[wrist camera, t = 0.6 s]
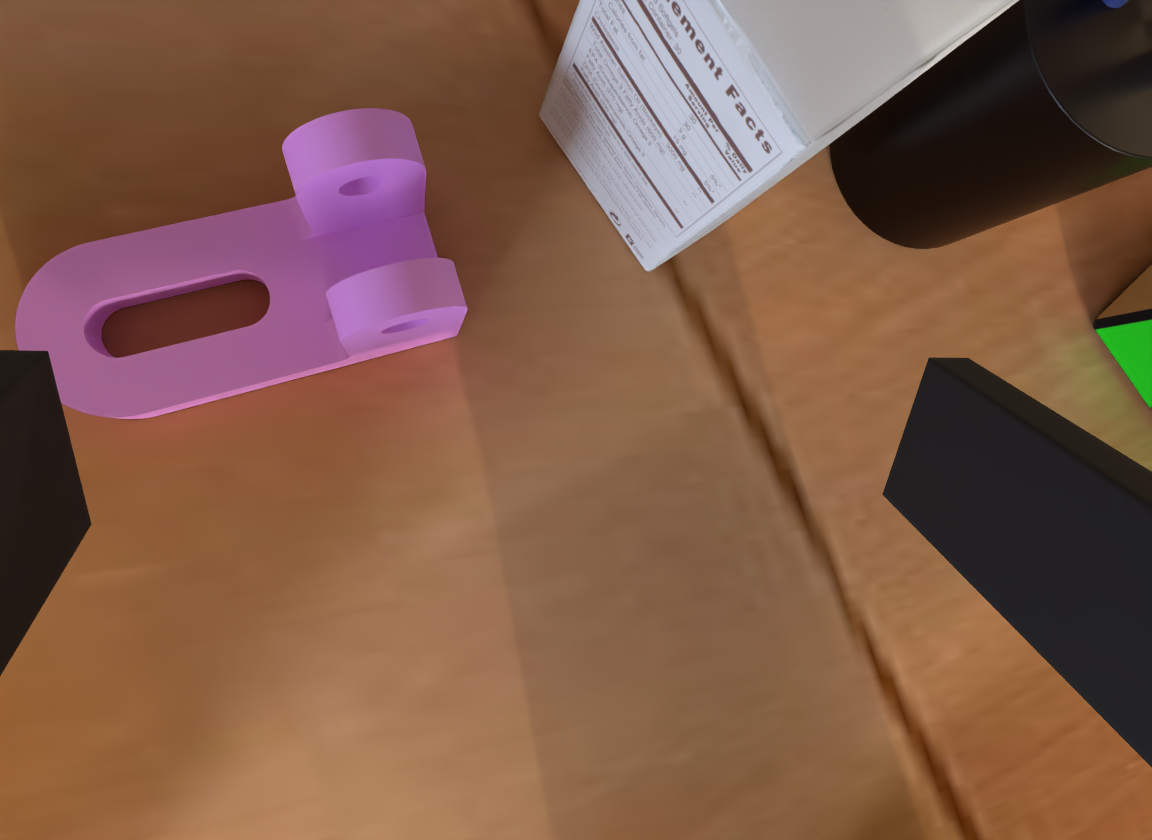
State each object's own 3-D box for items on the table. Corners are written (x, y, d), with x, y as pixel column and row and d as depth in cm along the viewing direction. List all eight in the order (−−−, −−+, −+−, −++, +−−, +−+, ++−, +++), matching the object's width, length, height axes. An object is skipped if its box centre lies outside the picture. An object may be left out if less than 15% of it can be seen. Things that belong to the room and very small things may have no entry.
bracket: (412, 186, 27) (412, 97, 20) (457, 336, 27) (472, 298, 20) (14, 273, 24) (-141, 204, 17) (67, 440, 24) (-67, 435, 17)
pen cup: (1015, 230, 32) (1608, 16, 16) (854, 265, 31) (1340, 64, 15) (973, 48, 32) (1527, -347, 16) (809, 73, 31) (1249, -342, 14)
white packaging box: (681, 19, 29) (876, -291, 17) (784, 180, 30) (1044, -6, 18) (529, 113, 28) (622, -151, 16) (641, 279, 29) (815, 152, 16)
